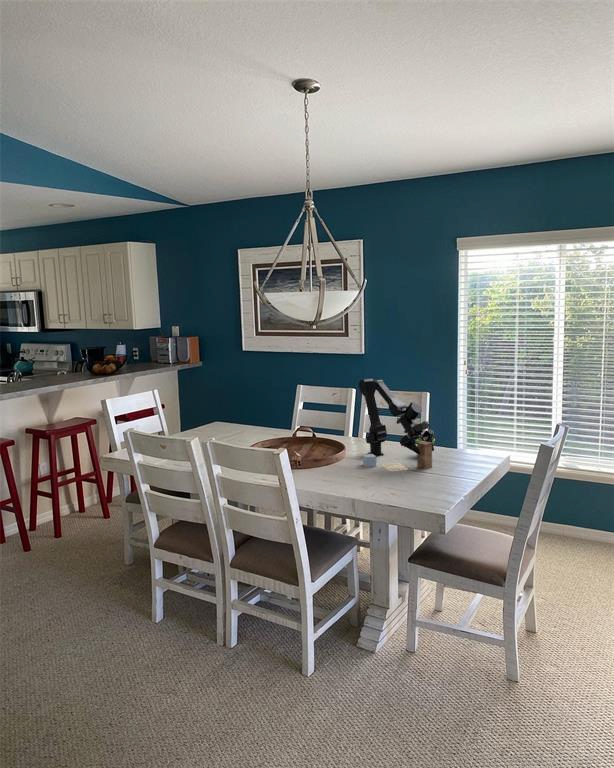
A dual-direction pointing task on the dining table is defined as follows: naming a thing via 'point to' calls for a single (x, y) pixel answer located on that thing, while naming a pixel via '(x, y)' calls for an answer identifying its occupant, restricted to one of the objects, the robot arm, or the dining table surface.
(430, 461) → the wooden cuboid post
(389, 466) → the letter
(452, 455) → the dining table surface
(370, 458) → the slate cube
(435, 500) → the dining table surface
